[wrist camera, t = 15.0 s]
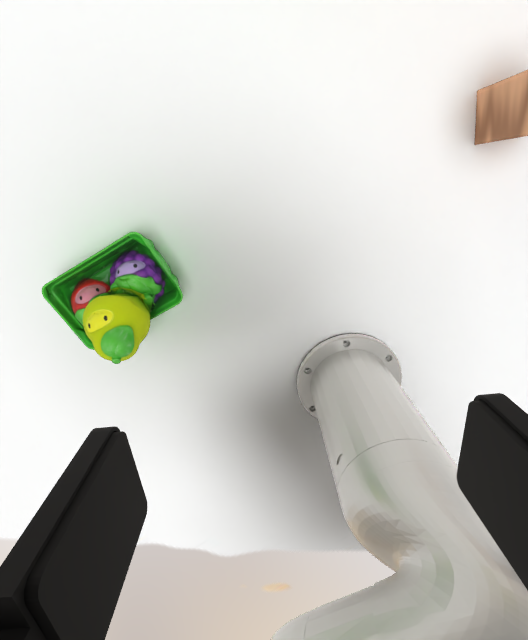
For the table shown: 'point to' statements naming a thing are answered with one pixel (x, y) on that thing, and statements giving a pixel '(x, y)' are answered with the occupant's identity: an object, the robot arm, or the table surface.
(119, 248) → the fruit basket
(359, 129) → the table surface
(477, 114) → the wooden block
